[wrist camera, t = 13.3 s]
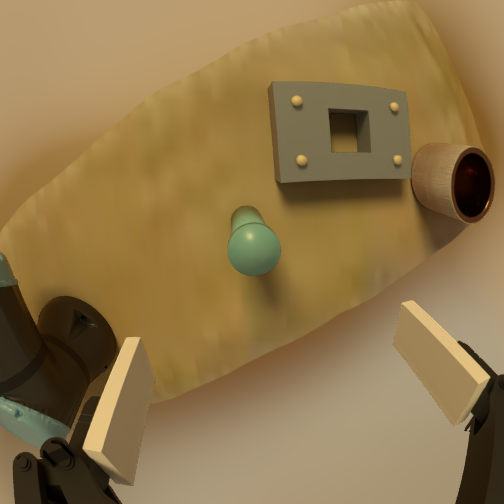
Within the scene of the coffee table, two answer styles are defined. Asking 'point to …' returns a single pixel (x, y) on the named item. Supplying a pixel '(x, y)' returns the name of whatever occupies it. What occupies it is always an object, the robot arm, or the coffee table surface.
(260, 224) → the plug
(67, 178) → the coffee table surface
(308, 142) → the grey socket block
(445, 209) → the planter
